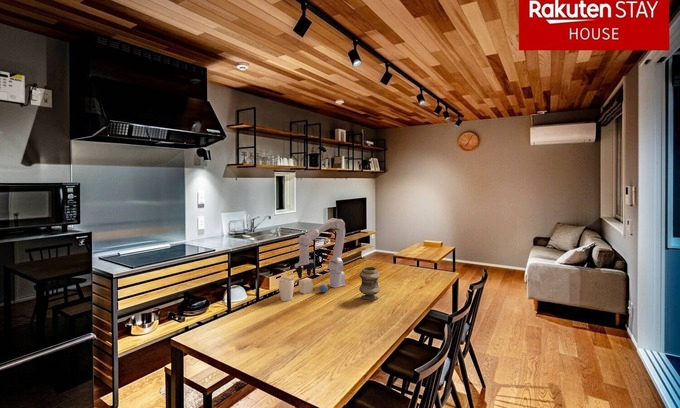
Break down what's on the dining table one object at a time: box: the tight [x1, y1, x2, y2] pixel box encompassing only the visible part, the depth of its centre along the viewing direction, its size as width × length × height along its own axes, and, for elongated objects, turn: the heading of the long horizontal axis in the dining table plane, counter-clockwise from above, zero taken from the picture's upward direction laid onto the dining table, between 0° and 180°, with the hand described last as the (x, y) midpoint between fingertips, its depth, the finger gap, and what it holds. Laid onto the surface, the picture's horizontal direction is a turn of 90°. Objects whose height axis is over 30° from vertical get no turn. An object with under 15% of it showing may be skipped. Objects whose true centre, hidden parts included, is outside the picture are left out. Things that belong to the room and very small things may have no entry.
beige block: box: [298, 278, 313, 295], centre depth 216 cm, size 6×6×7 cm
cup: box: [278, 276, 295, 302], centre depth 203 cm, size 9×9×12 cm
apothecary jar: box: [358, 266, 381, 302], centre depth 204 cm, size 12×12×18 cm
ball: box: [319, 284, 329, 294], centre depth 215 cm, size 5×5×5 cm
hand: (304, 276), depth 214 cm, fingers open, 7 cm apart
